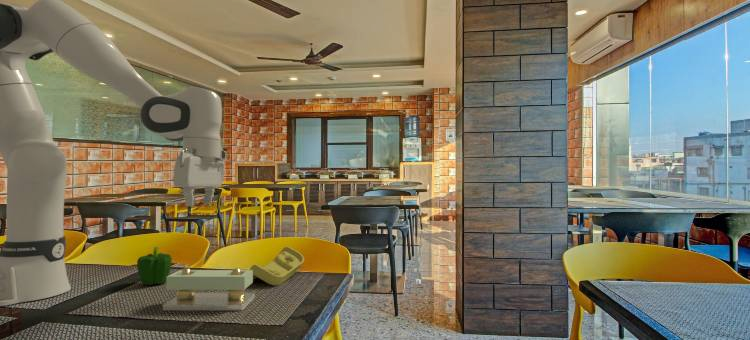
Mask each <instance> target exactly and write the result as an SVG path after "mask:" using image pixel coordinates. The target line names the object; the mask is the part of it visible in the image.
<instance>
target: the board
mask: <svg viewBox="0 0 750 340" xmlns="http://www.w3.org/2000/svg"><path fill="white" fill-rule="evenodd" d="M253 282H254V280H253V270H250V269H240V275H233V269H190V275H182V269H180V270H177V271H174V272H173V273H171V274H169V276H167V277H166V282H165V283H166V288H165V289H166V290H170V291H171V290H172V291H173V290H175V291H177V290H195V291H196V290H197V291H201V290H202V291H203V290H205V291H206V290H207V291H208V290H210V291H216V290H217V291H218V290H219V291H220V290H221V291H225V290H227V291H228V290H245V291H246V289H247V288H248V287H249V286H250V285H252V284H253Z"/></svg>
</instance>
